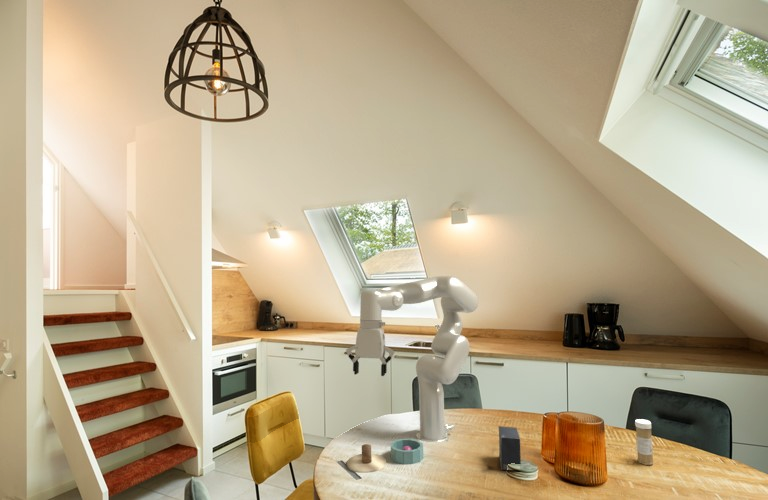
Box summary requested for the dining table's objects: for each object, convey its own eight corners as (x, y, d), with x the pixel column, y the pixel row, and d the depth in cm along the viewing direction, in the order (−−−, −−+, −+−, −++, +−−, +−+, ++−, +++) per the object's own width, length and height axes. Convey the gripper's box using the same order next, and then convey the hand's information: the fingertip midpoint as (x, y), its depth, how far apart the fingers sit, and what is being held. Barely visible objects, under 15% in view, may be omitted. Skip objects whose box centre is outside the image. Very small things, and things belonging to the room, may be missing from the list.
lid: (374, 453, 148) (374, 435, 148) (393, 467, 137) (393, 448, 137) (340, 462, 141) (340, 443, 142) (358, 477, 130) (357, 457, 130)
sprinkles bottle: (642, 458, 141) (640, 417, 142) (656, 464, 137) (654, 421, 138) (634, 461, 139) (631, 420, 140) (648, 466, 135) (645, 424, 136)
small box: (522, 472, 133) (521, 438, 134) (501, 470, 134) (499, 437, 135) (518, 458, 143) (517, 426, 144) (498, 456, 145) (497, 425, 145)
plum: (408, 453, 146) (408, 443, 146) (414, 457, 143) (414, 446, 143) (399, 456, 144) (399, 445, 144) (405, 460, 141) (405, 449, 141)
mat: (375, 453, 149) (375, 451, 149) (397, 469, 136) (397, 467, 136) (336, 463, 142) (336, 461, 142) (356, 481, 129) (356, 479, 129)
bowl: (411, 450, 151) (411, 436, 151) (429, 462, 141) (429, 446, 142) (385, 457, 145) (384, 443, 146) (402, 470, 136) (401, 454, 136)
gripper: (396, 325, 150) (396, 374, 148) (350, 323, 154) (349, 371, 152) (392, 326, 143) (391, 378, 141) (344, 325, 146) (342, 375, 145)
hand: (369, 374), depth 146 cm, fingers open, 9 cm apart
